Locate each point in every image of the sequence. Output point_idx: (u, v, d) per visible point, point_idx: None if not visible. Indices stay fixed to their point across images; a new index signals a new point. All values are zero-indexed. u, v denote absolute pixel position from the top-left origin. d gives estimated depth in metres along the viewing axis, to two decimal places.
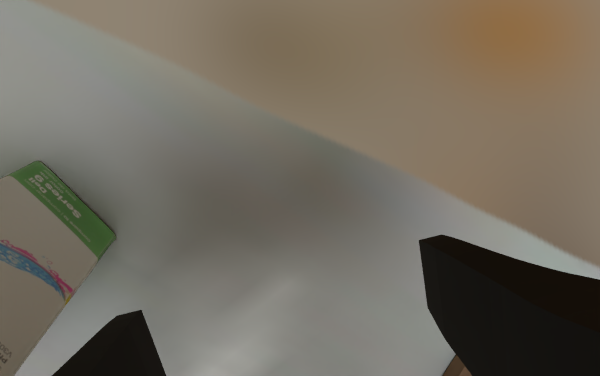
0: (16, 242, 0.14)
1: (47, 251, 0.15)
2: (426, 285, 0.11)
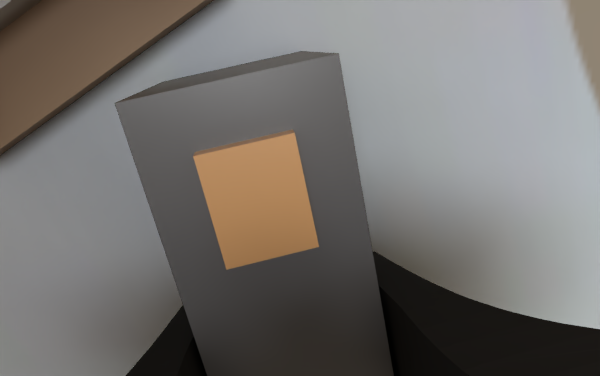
0: None
1: None
2: None
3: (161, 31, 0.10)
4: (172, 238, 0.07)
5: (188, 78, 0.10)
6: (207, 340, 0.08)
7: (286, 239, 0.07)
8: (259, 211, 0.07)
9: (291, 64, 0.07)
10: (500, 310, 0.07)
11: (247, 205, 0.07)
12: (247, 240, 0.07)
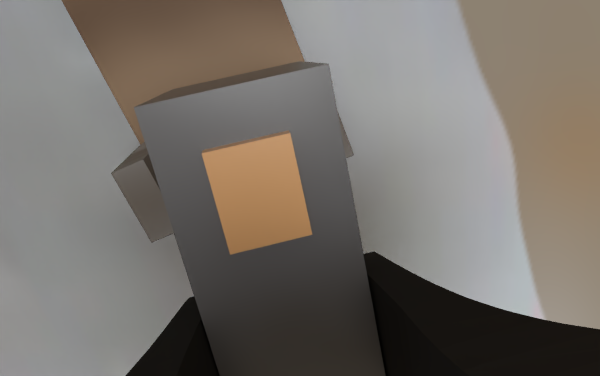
0: None
1: None
2: None
3: None
4: (182, 226, 0.08)
5: (196, 86, 0.11)
6: (212, 320, 0.09)
7: (283, 227, 0.08)
8: (259, 202, 0.08)
9: (287, 73, 0.08)
10: (500, 310, 0.07)
11: (248, 197, 0.08)
12: (249, 228, 0.08)
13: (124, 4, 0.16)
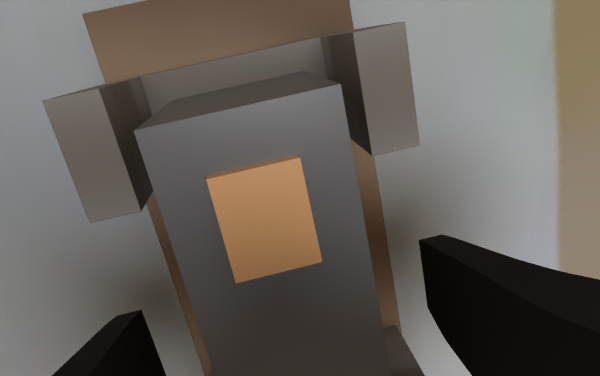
0: None
1: None
2: (426, 285, 0.11)
3: None
4: (185, 254, 0.08)
5: (197, 99, 0.10)
6: (217, 348, 0.09)
7: (292, 255, 0.08)
8: (267, 229, 0.08)
9: (297, 94, 0.07)
10: None
11: (255, 224, 0.08)
12: (255, 256, 0.08)
13: None
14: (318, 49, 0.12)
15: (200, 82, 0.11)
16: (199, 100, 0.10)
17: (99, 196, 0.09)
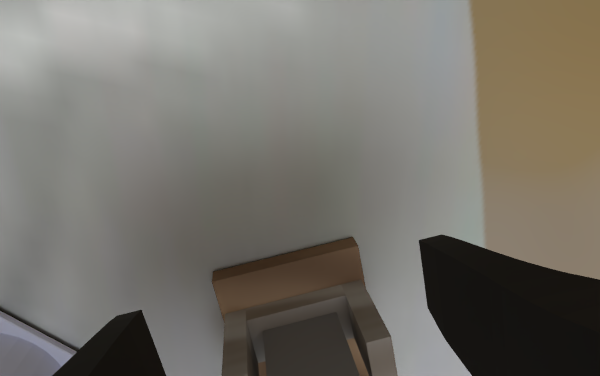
0: None
1: None
2: (426, 285, 0.11)
3: None
4: None
5: (282, 345, 0.19)
6: None
7: None
8: None
9: None
10: None
11: None
12: None
13: None
14: (344, 301, 0.21)
15: (278, 321, 0.20)
16: (284, 350, 0.19)
17: None
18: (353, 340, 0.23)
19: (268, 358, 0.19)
